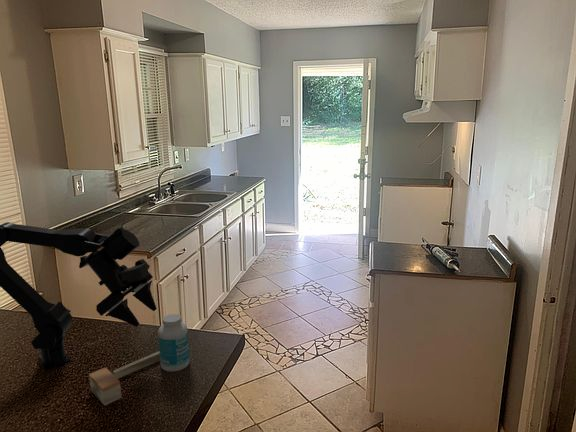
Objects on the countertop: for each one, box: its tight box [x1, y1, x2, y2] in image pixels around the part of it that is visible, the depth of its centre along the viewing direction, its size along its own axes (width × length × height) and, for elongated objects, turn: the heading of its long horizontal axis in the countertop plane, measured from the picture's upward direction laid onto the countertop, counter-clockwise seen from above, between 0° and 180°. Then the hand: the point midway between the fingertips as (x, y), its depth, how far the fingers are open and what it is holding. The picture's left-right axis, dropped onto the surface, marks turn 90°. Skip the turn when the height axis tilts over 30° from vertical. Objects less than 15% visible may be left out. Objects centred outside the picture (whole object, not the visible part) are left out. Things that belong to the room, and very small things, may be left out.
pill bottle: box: [157, 313, 190, 373], centre depth 114 cm, size 8×7×14 cm
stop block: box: [88, 366, 123, 406], centre depth 103 cm, size 8×4×4 cm, turn 45°
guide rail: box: [112, 350, 160, 380], centre depth 114 cm, size 1×14×2 cm, turn 135°
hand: (147, 317), depth 113 cm, fingers open, 9 cm apart
